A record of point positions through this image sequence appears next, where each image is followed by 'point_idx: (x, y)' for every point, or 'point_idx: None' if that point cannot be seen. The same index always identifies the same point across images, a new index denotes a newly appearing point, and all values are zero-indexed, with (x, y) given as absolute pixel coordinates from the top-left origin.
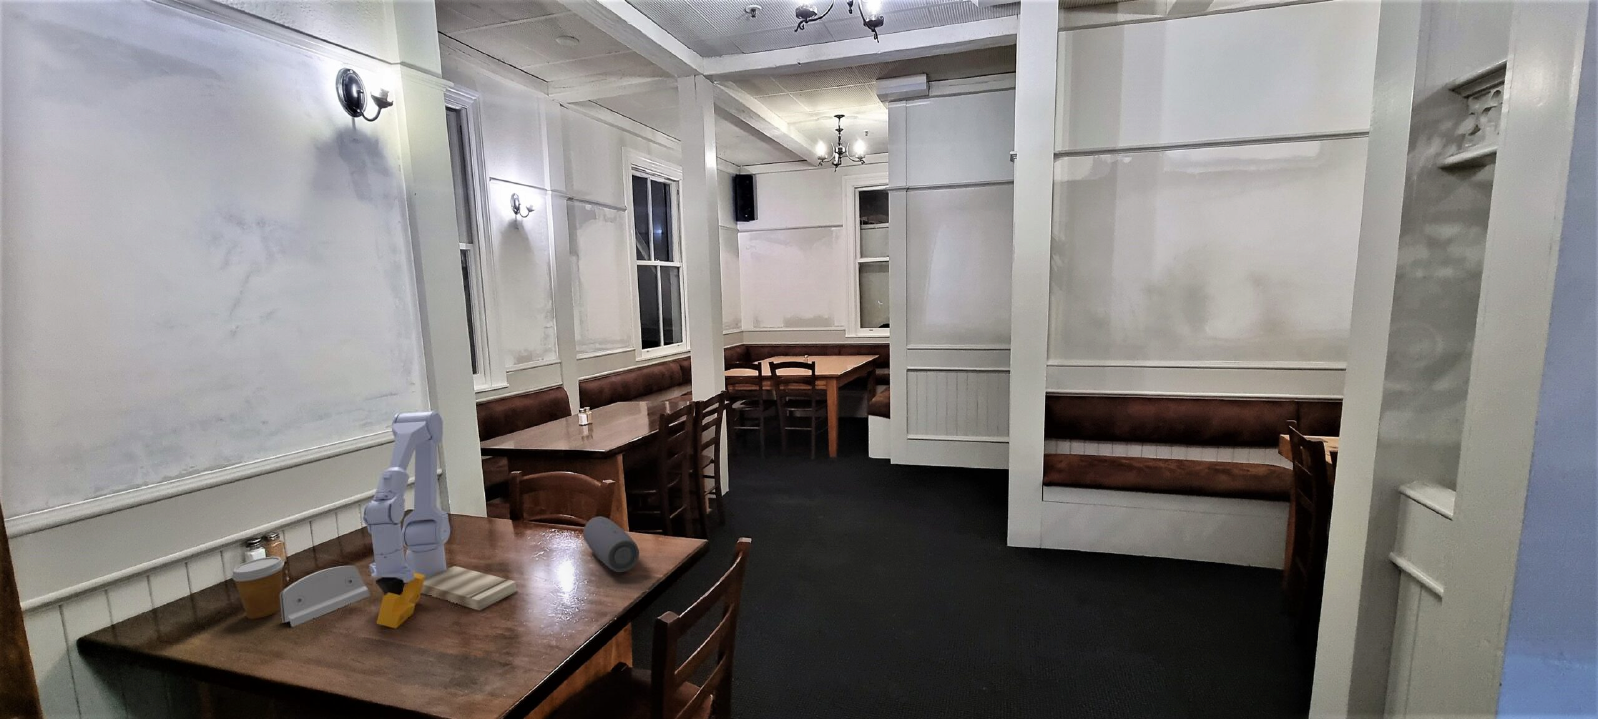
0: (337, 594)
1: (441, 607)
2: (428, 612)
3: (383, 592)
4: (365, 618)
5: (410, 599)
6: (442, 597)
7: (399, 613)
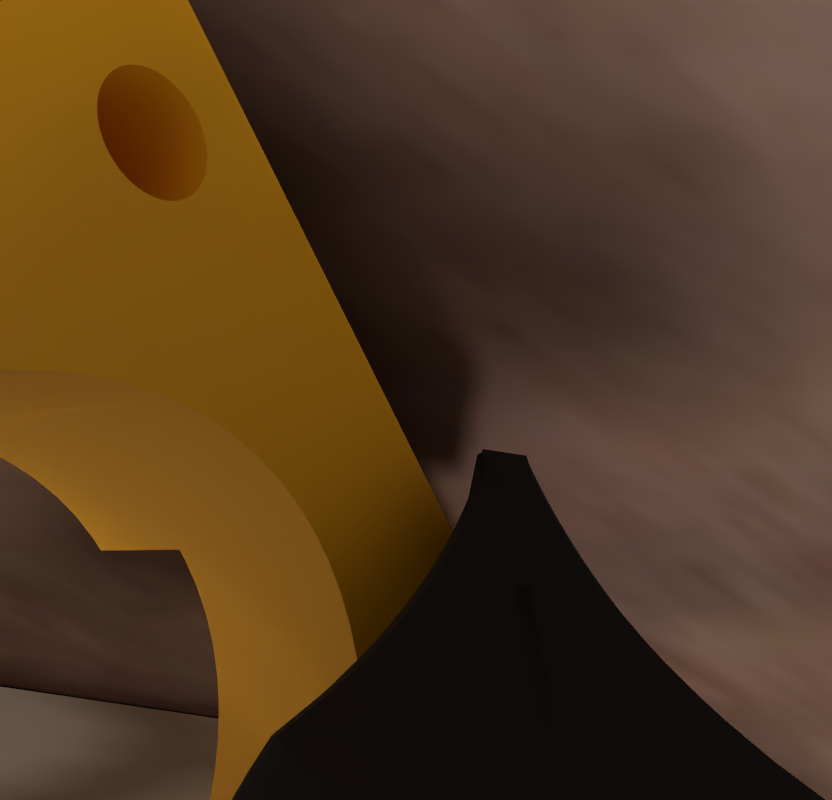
0: None
1: (23, 605)
2: (37, 505)
3: (626, 619)
4: (805, 195)
5: (207, 603)
6: (192, 735)
7: None
